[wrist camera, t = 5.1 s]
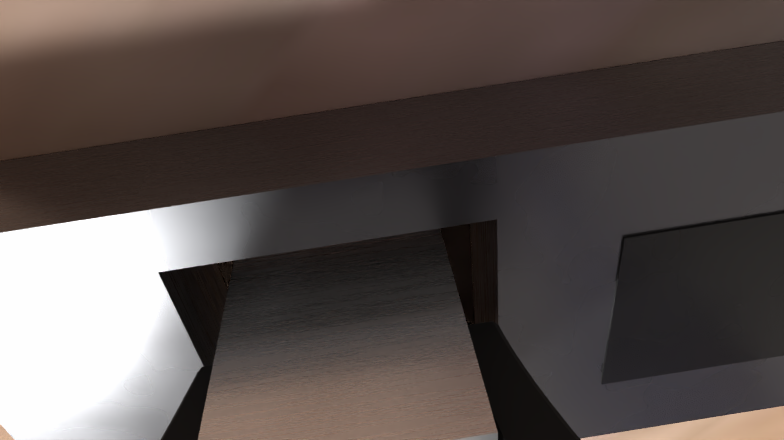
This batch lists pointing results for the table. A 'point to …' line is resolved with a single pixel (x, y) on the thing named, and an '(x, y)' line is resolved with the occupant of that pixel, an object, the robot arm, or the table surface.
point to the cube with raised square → (347, 347)
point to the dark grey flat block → (420, 213)
